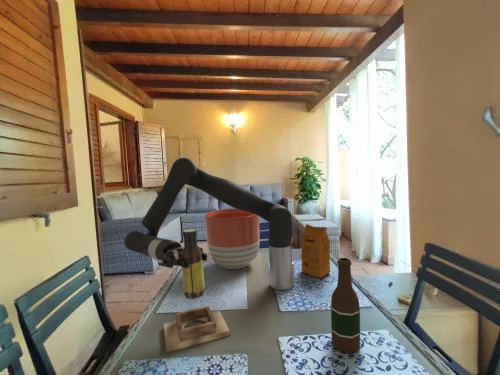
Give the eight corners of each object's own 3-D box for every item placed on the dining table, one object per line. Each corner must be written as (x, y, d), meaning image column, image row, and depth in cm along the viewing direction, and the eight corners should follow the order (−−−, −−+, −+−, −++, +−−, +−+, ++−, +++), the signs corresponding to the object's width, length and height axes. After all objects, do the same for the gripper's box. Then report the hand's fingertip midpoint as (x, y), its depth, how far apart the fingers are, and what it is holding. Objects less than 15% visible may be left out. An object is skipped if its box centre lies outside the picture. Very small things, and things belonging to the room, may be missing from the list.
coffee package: (311, 266, 131) (310, 221, 129) (333, 273, 121) (332, 225, 119) (297, 271, 125) (296, 225, 123) (319, 279, 115) (318, 229, 113)
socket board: (219, 315, 91) (219, 302, 90) (229, 335, 80) (229, 320, 79) (164, 328, 85) (163, 314, 84) (166, 352, 73) (165, 336, 73)
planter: (270, 261, 139) (268, 210, 137) (241, 281, 117) (238, 220, 115) (229, 254, 154) (226, 207, 152) (196, 270, 131) (193, 215, 129)
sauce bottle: (206, 289, 84) (203, 227, 83) (203, 299, 78) (200, 232, 76) (185, 290, 84) (182, 227, 82) (181, 300, 78) (177, 233, 76)
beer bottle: (326, 337, 77) (324, 255, 75) (352, 334, 78) (351, 253, 76) (337, 356, 69) (336, 265, 67) (366, 353, 70) (365, 263, 68)
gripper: (143, 245, 83) (176, 255, 73) (182, 234, 95) (215, 242, 84) (145, 268, 84) (177, 282, 74) (183, 255, 95) (216, 265, 85)
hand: (197, 260), depth 79 cm, fingers closed on sauce bottle, 6 cm apart
